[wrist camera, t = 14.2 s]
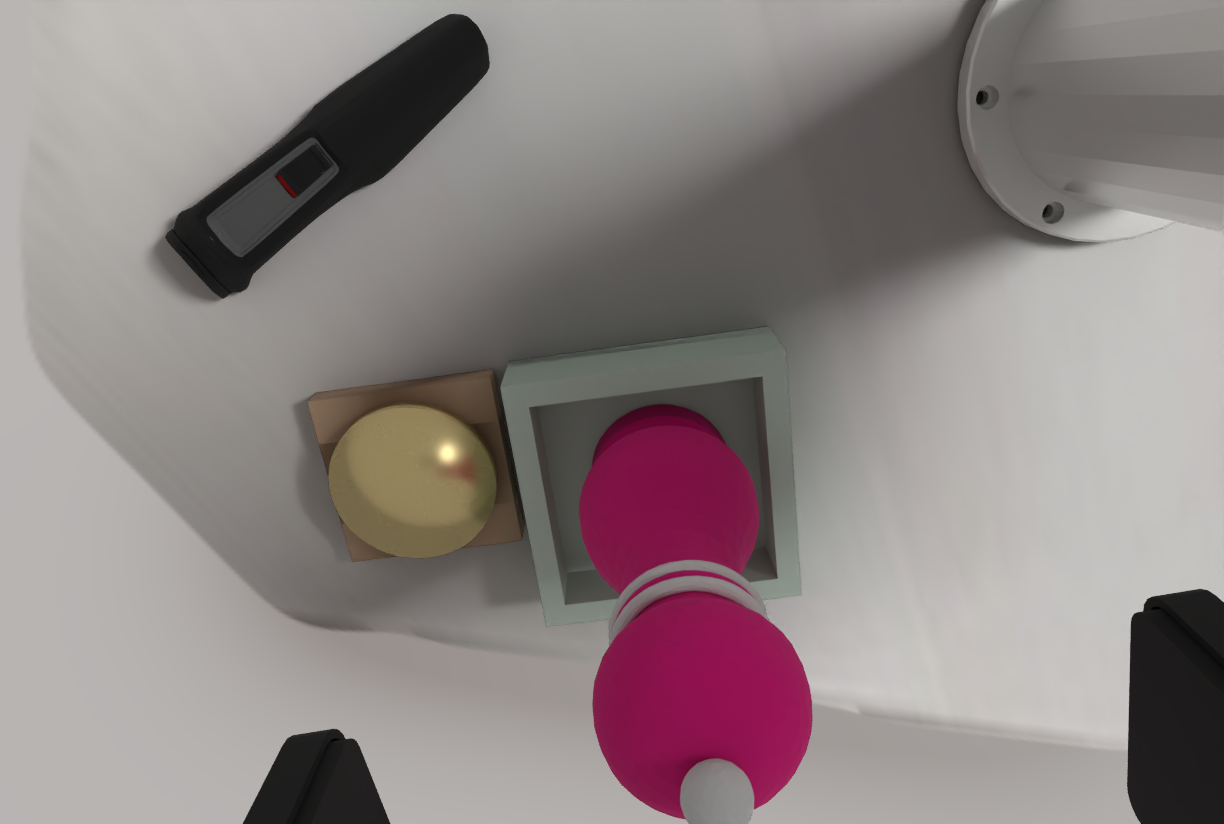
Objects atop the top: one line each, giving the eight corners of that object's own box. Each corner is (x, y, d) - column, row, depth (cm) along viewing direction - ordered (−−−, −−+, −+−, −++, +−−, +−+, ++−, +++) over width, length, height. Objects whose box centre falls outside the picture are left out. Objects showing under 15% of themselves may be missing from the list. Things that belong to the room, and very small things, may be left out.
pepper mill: (560, 512, 39) (525, 902, 20) (611, 371, 36) (626, 663, 18) (705, 555, 40) (802, 967, 21) (764, 420, 37) (933, 748, 19)
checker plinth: (493, 369, 37) (490, 377, 36) (524, 528, 40) (522, 540, 39) (316, 392, 37) (307, 402, 36) (359, 548, 40) (352, 561, 39)
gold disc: (483, 383, 37) (478, 397, 35) (513, 528, 39) (509, 547, 37) (322, 405, 37) (309, 419, 35) (361, 547, 39) (351, 567, 38)
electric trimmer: (518, 78, 33) (511, 76, 30) (232, 302, 36) (200, 319, 33) (459, -8, 32) (446, -20, 29) (168, 229, 35) (129, 241, 32)
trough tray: (769, 326, 37) (785, 349, 33) (785, 555, 41) (801, 595, 37) (508, 361, 37) (499, 387, 34) (550, 584, 41) (546, 626, 38)
